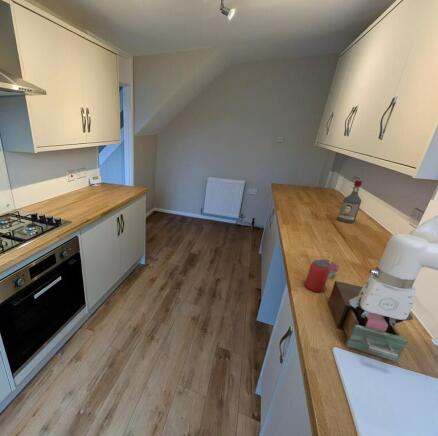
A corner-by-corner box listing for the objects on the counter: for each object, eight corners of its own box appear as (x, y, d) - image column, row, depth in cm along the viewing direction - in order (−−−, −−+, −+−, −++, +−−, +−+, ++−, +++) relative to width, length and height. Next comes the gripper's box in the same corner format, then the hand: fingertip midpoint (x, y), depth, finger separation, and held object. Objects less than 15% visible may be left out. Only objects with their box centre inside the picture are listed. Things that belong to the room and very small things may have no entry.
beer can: (304, 281, 104) (311, 257, 100) (322, 286, 101) (330, 261, 97) (304, 289, 99) (312, 264, 95) (323, 294, 96) (332, 269, 91)
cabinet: (385, 341, 74) (397, 317, 71) (337, 327, 80) (345, 304, 76) (369, 312, 87) (378, 290, 83) (328, 301, 92) (335, 280, 89)
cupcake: (339, 281, 104) (348, 257, 100) (318, 278, 106) (325, 255, 102) (330, 270, 112) (337, 248, 108) (310, 268, 114) (317, 246, 110)
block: (377, 326, 73) (382, 315, 71) (382, 336, 69) (388, 325, 68) (359, 321, 75) (363, 310, 73) (363, 331, 71) (368, 319, 69)
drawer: (404, 374, 63) (416, 353, 61) (351, 357, 68) (360, 337, 65) (378, 328, 78) (387, 309, 76) (336, 316, 83) (343, 298, 80)
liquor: (340, 217, 182) (352, 179, 172) (354, 221, 176) (368, 181, 165) (336, 220, 177) (348, 180, 166) (351, 224, 170) (365, 183, 160)
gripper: (359, 276, 66) (339, 327, 72) (444, 294, 59) (414, 349, 65) (351, 263, 72) (334, 311, 78) (428, 278, 65) (401, 329, 72)
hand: (370, 328), depth 72 cm, fingers closed on block, 4 cm apart
